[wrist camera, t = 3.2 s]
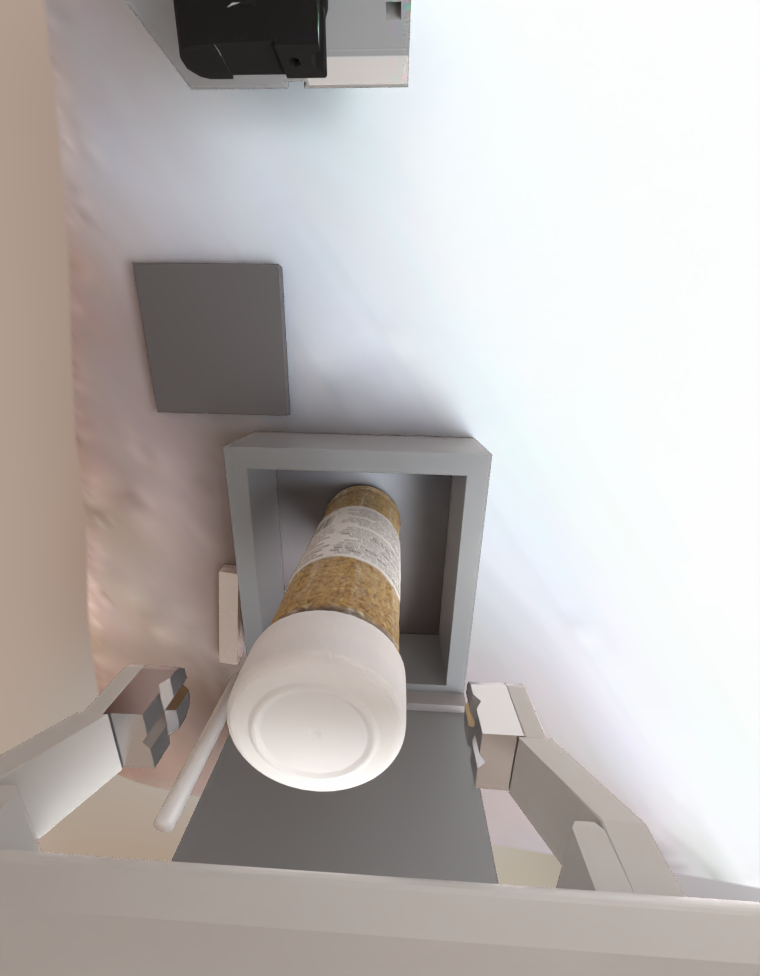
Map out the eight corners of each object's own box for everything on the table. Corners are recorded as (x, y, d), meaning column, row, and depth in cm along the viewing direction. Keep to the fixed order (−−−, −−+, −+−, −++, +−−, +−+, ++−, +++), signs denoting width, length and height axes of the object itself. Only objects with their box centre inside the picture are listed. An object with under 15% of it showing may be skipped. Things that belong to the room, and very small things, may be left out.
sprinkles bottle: (358, 567, 23) (308, 824, 10) (308, 513, 22) (180, 721, 9) (417, 524, 22) (445, 752, 9) (367, 466, 21) (317, 626, 8)
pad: (140, 265, 18) (132, 262, 17) (282, 267, 18) (278, 264, 17) (164, 411, 20) (157, 412, 20) (290, 414, 20) (287, 415, 19)
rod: (227, 561, 23) (218, 571, 22) (246, 564, 23) (238, 574, 22) (227, 649, 26) (219, 662, 24) (244, 651, 26) (236, 665, 24)
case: (237, 430, 20) (-238, 618, 5) (474, 437, 20) (722, 668, 5) (259, 648, 25) (44, 1084, 10) (451, 657, 24) (539, 1133, 9)
